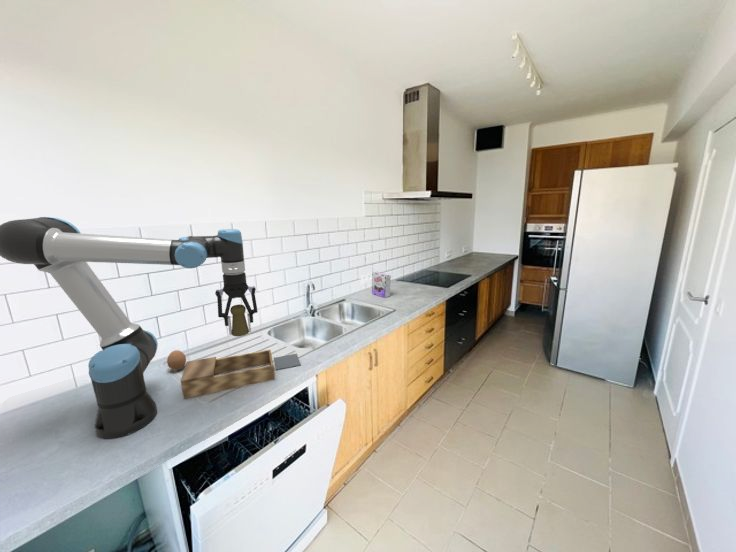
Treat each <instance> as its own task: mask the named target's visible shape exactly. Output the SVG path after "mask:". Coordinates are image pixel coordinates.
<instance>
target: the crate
mask: <svg viewBox="0 0 736 552" xmlns="http://www.w3.org/2000/svg"><path fill="white" fill-rule="evenodd" d="M264 365H265V366H264ZM184 366H185V367H184V369H183V372H182V375H181V378H180V386H181V391H182V398H183V399H188V398H193V397H198V396H203V395H207V394H212V393H216V392H221V391H222V392H223V391H227V390H232V389H235V388H240V387H245V386H246V387H247V386H250V385H255V384H261V383H265V382H269V381H273V380H276V379H275V364H274V359H273V357H272V351H271V349H266V350H260V351H254V352H250V353H243V354H238V355H231V356H225V357H220V358H217V357H216V356H211V357H206V358H200V359H194V360H189V361H186V363H185V365H184ZM259 366H260V367H259ZM231 371H233V372H231ZM227 372H228V373H227ZM221 373H222V374H221ZM215 374H216V375H215ZM202 394H203V395H202Z"/></svg>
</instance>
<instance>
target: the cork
mask: <svg viewBox="0 0 736 552" xmlns="http://www.w3.org/2000/svg"><path fill="white" fill-rule="evenodd" d="M246 311H247V309H246V306H245V304H244V305H243V304H234V305H232V306H230V309H229V312H230V314H231V315H232V318H231V319H232V321H231V328H232V335H231V336H234V337H243V336H246V335H248V334H249V333H250V332H249V327H248V321H247V319H246V318H247V317H246V314H245V313H246Z"/></svg>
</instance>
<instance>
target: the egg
mask: <svg viewBox="0 0 736 552" xmlns="http://www.w3.org/2000/svg"><path fill="white" fill-rule="evenodd" d="M166 359H167V360H166V363H167V366H168V368H169V369H170V370H172V371H179V370H181V369H183V368H184V366H186V363H187V357H186V355H185V353H184V352H182V351H181V350H179V349H178V350H173V351H171V352H170V353H169V354H168V356H167V358H166Z"/></svg>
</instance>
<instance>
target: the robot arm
mask: <svg viewBox="0 0 736 552" xmlns="http://www.w3.org/2000/svg"><path fill="white" fill-rule="evenodd" d="M243 242H244V241H243V235H242V232H241V230H240V229H237V228H228V229H227V228H226V229H224V228H223V229H219V230H217V235H200V236H199V235H197V236H194V235H193V236H192V235H188V236H182V237H179V239H168V238H155V237H154V238H151V237H138V236H123V235H108V234H107V235H105V234H93V233H92V234H91V233H82V232H81V231H80V230H79V229H78V227H77V226H75V225H74V224H73V223H72V222H70V221H67V220H65V219H62V218H58V217H50V216H40V217H35V218H25V219H24V218H23V219H14V220H8V221H6V222H3V223H2V224H0V257H2V259H4V260H7V262H8V261H9V262H11V263H16V264H20V265H34V266H35V267H36V269H37V271H39V272H43V273H47V274H49V275H51V278H53V279H54V280H55V282H56V283H57V284H58V286H59V288H61V290H63V292H64V293H65V294H66V296H67V297H68V298H69V299H70V301H71V302H72V303H73V305H74V306H75V307H76V308H77V309H78V311H79V312H80V313H81V314H82V316H83V317H84V318H85V319H86V321H87V322H88V323H89V324H90V325H91V327H92V328H93V330H95V332H96V333H97V334H98V335H99V337H100V338H101V340H100V342H99V346H100V348H101V349H102V350H99V351H98V352H96V353H95V354H94V355H93V356H92V357H90V359H89V362H88V376H89V378H90V381H91V385H92V388H93V393H94V395H95V396H94V397H95V400H96V404H97V411H96V417H95V421H94V431H95V434H96V435H97V437H99V438H101V439H116V438H121V437H124V436H128V435H130V434H133V433H135V432H137V431H139V430H140V429H142V428H144V427H145V426H147V425H148V424H149V423H151V422H152V420H154V419H155V417H156V416H157V414H158V408H157V403H156V401H155V400H154V399H153V397H152V396H151V395H150V394H149V392H148V391H147V387H146V382H145V377H144V372H145V371H146V370H147V368H148V366H149V364H150V363H151V361H152V360H153V359H154V358H155V356H156V354H157V350H158V346H159V345H158V340H157V338H156V336H155V335H154V334H153V333H152V332H151V331H148V330H144V329H143V328H142V326H141V325H140V324H138V323H132V322H131V321H130V319H129V318H128V317H127V315H126V314H125V313H124V311H123V310H122V308H121V307H120V306H119V304H118V303H117V302H116V301H115V299H114V298H113V296H112V295H111V294H110V291H108V290H107V287H106V286H104V284H103V283H102V281H101V280H100V278H99V277H98V276H97V275H96V273H95V272H94V271H93V268H91V265H89V264H88V263H107V264H108V263H109V264H136V265H138V264H139V265H165V266H180V267H182V268H185V269H196V268H198V267H200V266H202V265H203V264H204V263H205V261H206V260H207V259H210V258H220V262H221V271H222V279H223V286H222V287H223V288H221V289H216V290H215V296H216V298H217V317H218V318H223V319H224V320H223V321H224V326H225V327H228V333H229V335H230V336H233V335H232V321H231V319H232V318H231V316H230V315H229V312H230V309H231V305H232V302H233V301H232V300H233V299H236V298H237V299H238V298H241V300H242V303H244V306H245V308H246V311H247V313H246V315H247V317H246V318H247V325H248V329H249V333H251V332H252V328H251V327H252V326H251V324H252V323H254V314H257V313H258V312H259V311H258V306H257V300H256V299H257V298H256V286H254V285H252V286H249V285H248V283H247V277H246V276H247V275H246V272H245V271H246V264H245V256H244V255H245V254H244V243H243ZM248 291H249V293H250V294H251V295H250V296H251V301H252V307H253V309H252V307H251V305H250V303H249V301H248V299H247V297H246V295H245V294H246V293H247V292H248ZM224 293H225V295H227V296H228V297H227V302H226V306H225V308H224V309H225V310H224V312H223V301H222V300H223V299H222V298H223V297H222V296H223V294H224Z"/></svg>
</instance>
